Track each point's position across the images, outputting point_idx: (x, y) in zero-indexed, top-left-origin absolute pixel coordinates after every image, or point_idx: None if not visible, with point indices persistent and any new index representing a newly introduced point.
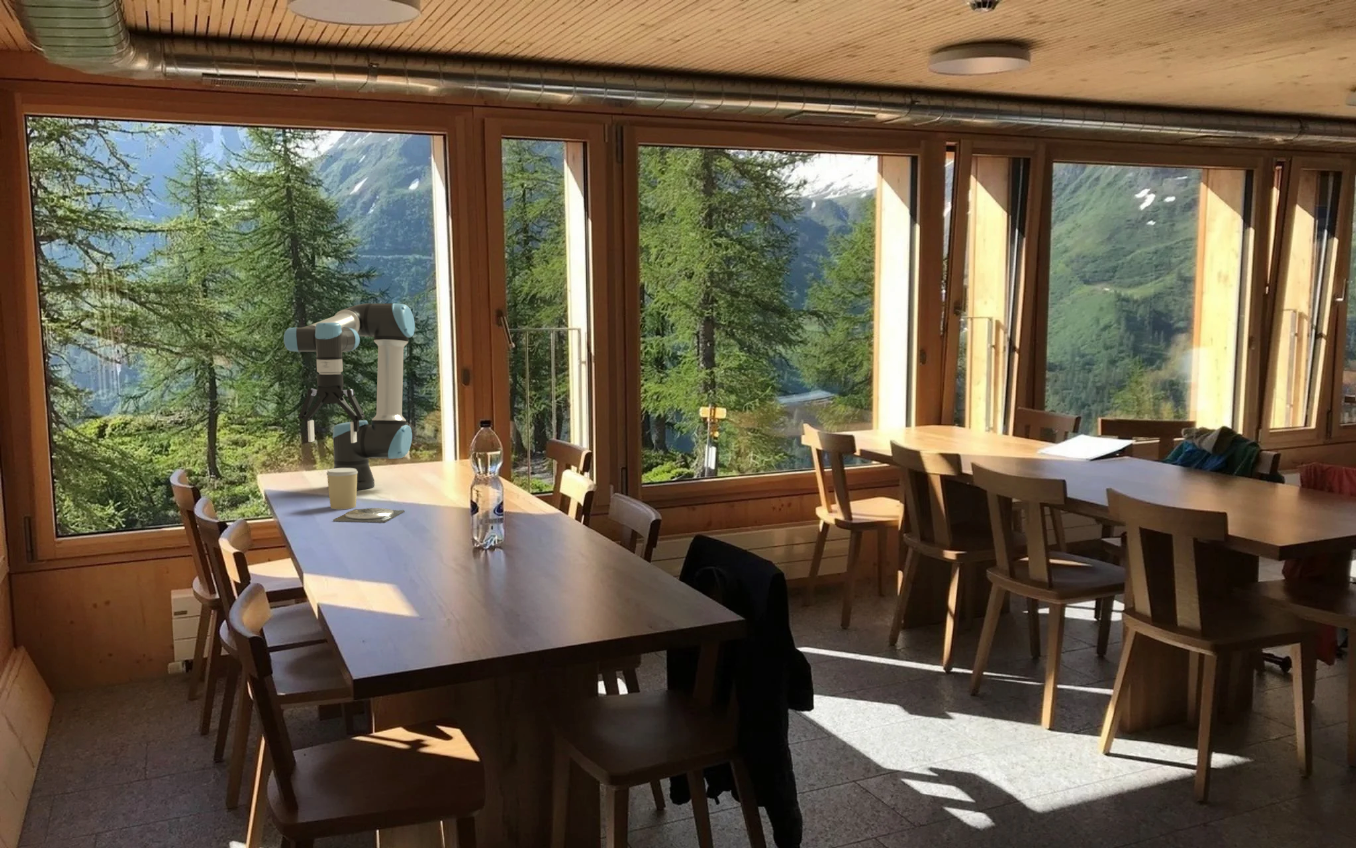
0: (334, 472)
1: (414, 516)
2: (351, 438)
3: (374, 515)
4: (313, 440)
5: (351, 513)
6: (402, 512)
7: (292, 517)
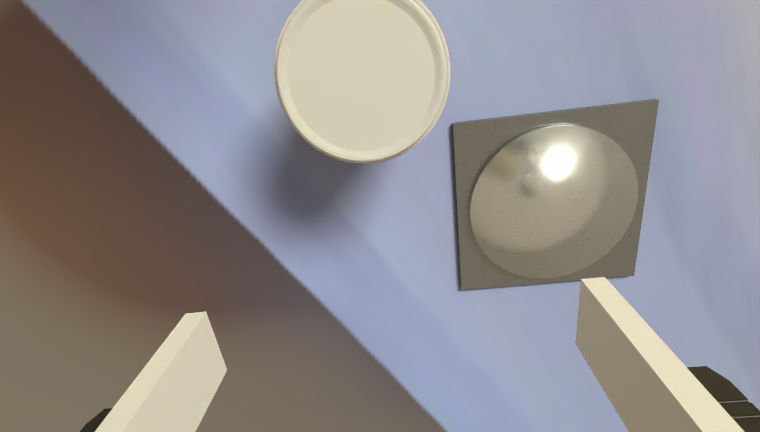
0: (361, 161)
1: (711, 165)
2: (599, 372)
3: (587, 246)
4: (209, 334)
5: (495, 233)
6: (653, 122)
7: (306, 264)
